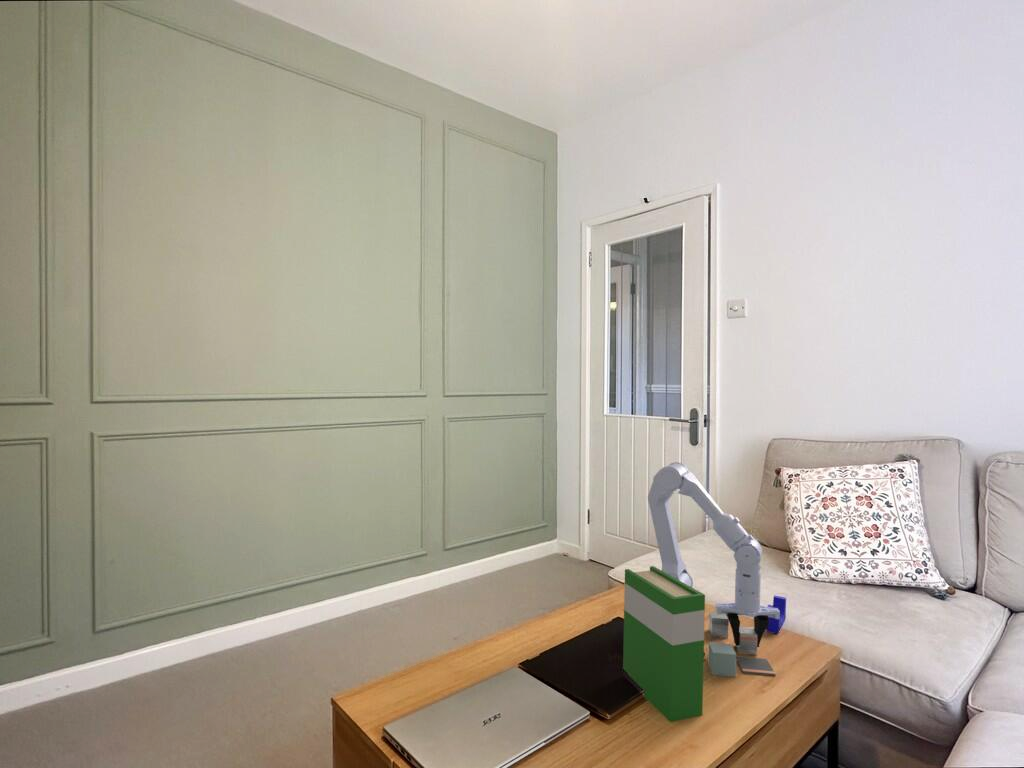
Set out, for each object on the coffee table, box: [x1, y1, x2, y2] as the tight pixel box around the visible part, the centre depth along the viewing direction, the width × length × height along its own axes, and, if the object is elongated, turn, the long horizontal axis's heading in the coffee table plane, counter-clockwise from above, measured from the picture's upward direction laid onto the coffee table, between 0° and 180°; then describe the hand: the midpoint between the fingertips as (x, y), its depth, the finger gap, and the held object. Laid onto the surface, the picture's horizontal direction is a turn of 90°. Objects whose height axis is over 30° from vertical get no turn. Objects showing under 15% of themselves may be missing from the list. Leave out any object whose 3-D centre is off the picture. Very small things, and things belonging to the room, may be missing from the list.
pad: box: [736, 655, 776, 677], centre depth 132 cm, size 7×7×1 cm
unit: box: [707, 641, 737, 677], centre depth 130 cm, size 5×5×5 cm
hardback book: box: [622, 565, 706, 723], centre depth 119 cm, size 18×7×24 cm, turn 20°
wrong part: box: [708, 611, 730, 639], centre depth 148 cm, size 4×4×5 cm
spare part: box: [735, 625, 758, 655], centre depth 140 cm, size 4×4×5 cm
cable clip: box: [765, 594, 787, 634], centre depth 155 cm, size 12×4×6 cm, turn 146°
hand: (746, 644), depth 140 cm, fingers closed on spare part, 4 cm apart
